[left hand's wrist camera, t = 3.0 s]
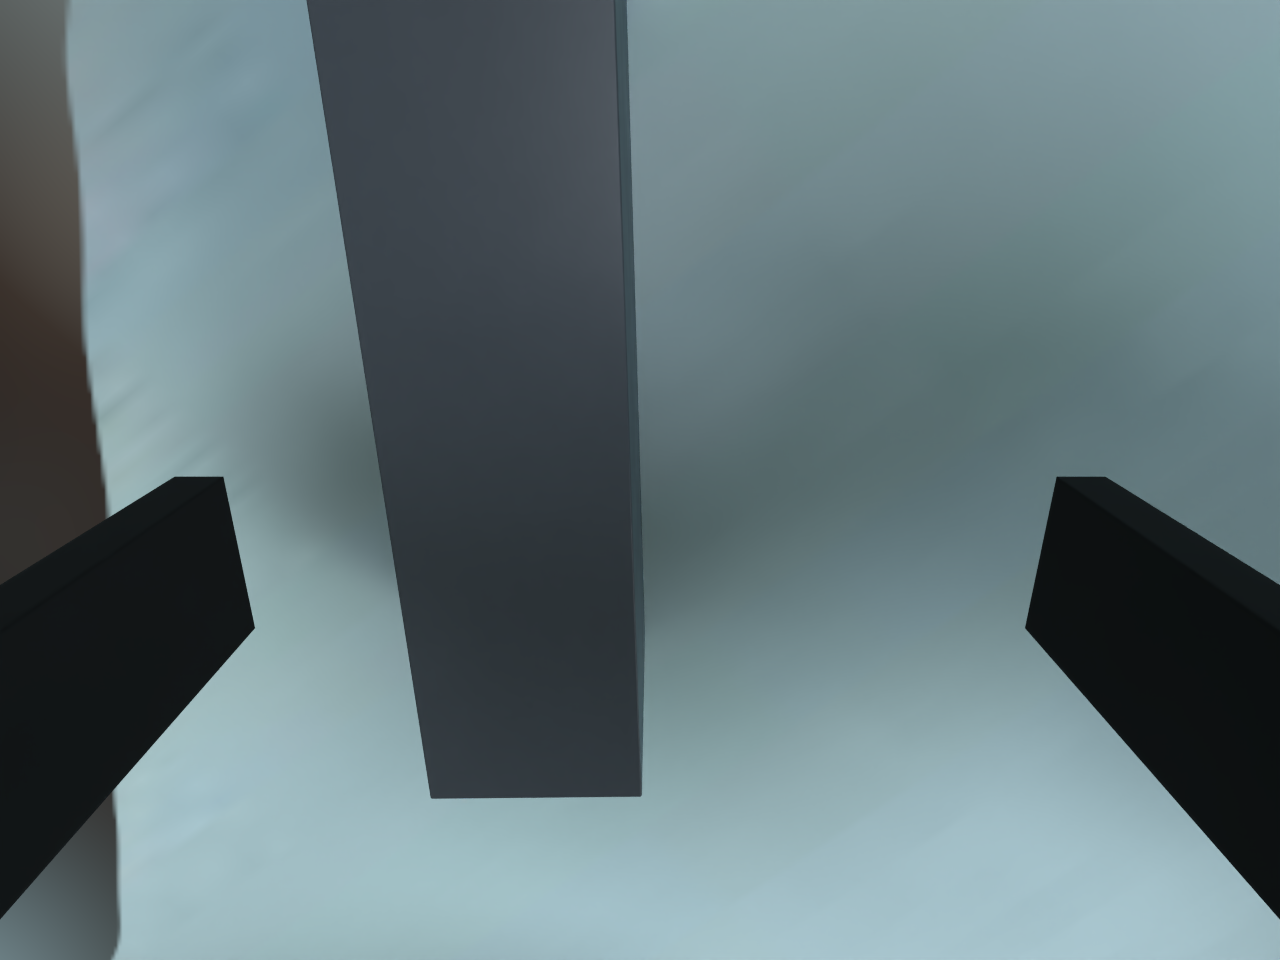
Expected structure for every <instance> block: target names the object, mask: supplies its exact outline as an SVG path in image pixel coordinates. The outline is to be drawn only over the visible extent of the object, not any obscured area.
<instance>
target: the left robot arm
mask: <svg viewBox="0 0 1280 960" xmlns="http://www.w3.org/2000/svg"><path fill="white" fill-rule="evenodd" d="M254 629H255V626H254V621H253V616H252V612H251V607H250V602H249V597H248V593H247V588H246V583H245V578H244V573H243V569H242V564H241V559H240V554H239V550H238V545H237V540H236V535H235V530H234V526H233V521H232V516H231V511H230V506H229V502H228V497H227V492H226V487H225V483H224V478H223V477H173V478H172V479H170V480H169V481H167V482H165V483H164V484H162V485H161V486H159V487H157V488H156V489H154V490H153V491H151V492H149V493H148V494H146V495H144V496H143V497H141V498H140V499H138V500H136V501H135V502H133V503H132V504H130V505H128V506H127V507H125V508H124V509H122V510H120V511H119V512H117V513H115V514H114V515H112V516H111V517H109V518H107V519H106V520H104V521H103V522H101V523H99V524H98V525H96V526H95V527H93V528H91V529H90V530H88V531H86V532H85V533H83V534H82V535H80V536H78V537H77V538H75V539H74V540H72V541H70V542H69V543H67V544H66V545H64V546H62V547H61V548H59V549H57V550H56V551H54V552H53V553H51V554H50V555H48V556H46V557H45V558H43V559H41V560H40V561H38V562H37V563H35V564H33V565H32V566H30V567H28V568H27V569H25V570H24V571H22V572H20V573H19V574H17V575H16V576H14V577H12V578H11V579H9V580H8V581H6V582H4V583H3V584H1V585H0V919H1V918H2V917H3V915H4V914H5V913H6V912H7V911H8V910H9V909H10V907H11V906H12V905H13V904H14V903H15V902H16V901H17V899H18V898H19V897H20V896H21V895H22V894H23V893H24V891H25V890H26V889H27V888H28V887H29V886H30V885H31V883H32V882H33V881H34V880H35V879H36V878H37V877H38V875H39V874H40V873H41V872H42V871H43V870H44V869H45V867H46V866H47V865H48V864H49V863H50V862H51V861H52V859H53V858H54V857H55V856H56V855H57V854H58V853H59V851H60V850H61V849H62V848H63V847H64V846H65V845H66V843H67V842H68V841H69V840H70V839H71V838H72V837H73V835H74V834H75V833H76V832H77V831H78V830H79V829H80V827H81V826H82V825H83V824H84V823H85V822H86V821H87V819H88V818H89V817H90V816H91V815H92V814H93V813H94V811H95V810H96V809H97V808H98V807H99V806H100V805H101V803H102V802H103V801H104V800H105V799H106V798H107V797H108V795H109V794H110V793H111V792H112V791H113V790H114V789H115V787H116V786H117V785H118V784H119V783H120V782H121V781H122V779H123V778H124V777H125V776H126V775H127V774H128V773H129V771H130V770H131V769H132V768H133V767H134V766H135V765H136V763H137V762H138V761H139V760H140V759H141V758H142V757H143V755H144V754H145V753H146V752H147V751H148V750H149V749H150V747H151V746H152V745H153V744H154V743H155V742H156V741H157V739H158V738H159V737H160V736H161V735H162V734H163V733H164V731H165V730H166V729H167V728H168V727H169V726H170V725H171V723H172V722H173V721H174V720H175V719H176V718H177V717H178V715H179V714H180V713H181V712H182V711H183V710H184V709H185V707H186V706H187V705H188V704H189V703H190V702H191V701H192V699H193V698H194V697H195V696H196V695H197V694H198V693H199V691H200V690H201V689H202V688H203V687H204V686H205V685H206V683H207V682H208V681H209V680H210V679H211V678H212V677H213V675H214V674H215V673H216V672H217V671H218V670H219V669H220V667H221V666H222V665H223V664H224V663H225V662H226V661H227V659H228V658H229V657H230V656H231V655H232V654H233V653H234V651H235V650H236V649H237V648H238V647H239V646H240V645H241V643H242V642H243V641H244V640H245V639H246V638H247V637H248V635H249V634H250V633H251V632H252V631H253V630H254ZM1025 629H1026V630H1027V631H1028V632H1029V633H1030V634H1031V635H1032V637H1033V638H1034V639H1035V640H1036V641H1037V642H1038V643H1039V645H1040V646H1041V647H1042V648H1043V649H1044V650H1045V651H1046V653H1047V654H1048V655H1049V656H1050V657H1051V658H1052V659H1053V661H1054V662H1055V663H1056V664H1057V665H1058V666H1059V667H1060V669H1061V670H1062V671H1063V672H1064V673H1065V674H1066V675H1067V677H1068V678H1069V679H1070V680H1071V681H1072V682H1073V683H1074V685H1075V686H1076V687H1077V688H1078V689H1079V690H1080V691H1081V693H1082V694H1083V695H1084V696H1085V697H1086V698H1087V699H1088V701H1089V702H1090V703H1091V704H1092V705H1093V706H1094V707H1095V709H1096V710H1097V711H1098V712H1099V713H1100V714H1101V715H1102V717H1103V718H1104V719H1105V720H1106V721H1107V722H1108V723H1109V725H1110V726H1111V727H1112V728H1113V729H1114V730H1115V731H1116V733H1117V734H1118V735H1119V736H1120V737H1121V738H1122V739H1123V741H1124V742H1125V743H1126V744H1127V745H1128V746H1129V747H1130V749H1131V750H1132V751H1133V752H1134V753H1135V754H1136V755H1137V757H1138V758H1139V759H1140V760H1141V761H1142V762H1143V763H1144V765H1145V766H1146V767H1147V768H1148V769H1149V770H1150V771H1151V773H1152V774H1153V775H1154V776H1155V777H1156V778H1157V779H1158V781H1159V782H1160V783H1161V784H1162V785H1163V786H1164V787H1165V789H1166V790H1167V791H1168V792H1169V793H1170V794H1171V795H1172V797H1173V798H1174V799H1175V800H1176V801H1177V802H1178V803H1179V805H1180V806H1181V807H1182V808H1183V809H1184V810H1185V811H1186V813H1187V814H1188V815H1189V816H1190V817H1191V818H1192V819H1193V821H1194V822H1195V823H1196V824H1197V825H1198V826H1199V827H1200V829H1201V830H1202V831H1203V832H1204V833H1205V834H1206V835H1207V837H1208V838H1209V839H1210V840H1211V841H1212V842H1213V843H1214V845H1215V846H1216V847H1217V848H1218V849H1219V850H1220V851H1221V853H1222V854H1223V855H1224V856H1225V857H1226V858H1227V859H1228V861H1229V862H1230V863H1231V864H1232V865H1233V866H1234V867H1235V869H1236V870H1237V871H1238V872H1239V873H1240V874H1241V875H1242V877H1243V878H1244V879H1245V880H1246V881H1247V882H1248V883H1249V885H1250V886H1251V887H1252V888H1253V889H1254V890H1255V891H1256V893H1257V894H1258V895H1259V896H1260V897H1261V898H1262V899H1263V901H1264V902H1265V903H1266V904H1267V905H1268V906H1269V907H1270V909H1271V910H1272V911H1273V912H1274V913H1275V914H1276V915H1277V917H1278V918H1279V919H1280V585H1279V584H1277V583H1276V582H1274V581H1272V580H1271V579H1269V578H1268V577H1266V576H1264V575H1263V574H1261V573H1260V572H1258V571H1256V570H1255V569H1253V568H1252V567H1250V566H1248V565H1247V564H1245V563H1243V562H1242V561H1240V560H1239V559H1237V558H1235V557H1234V556H1232V555H1231V554H1229V553H1227V552H1226V551H1224V550H1223V549H1221V548H1219V547H1218V546H1216V545H1214V544H1213V543H1211V542H1210V541H1208V540H1206V539H1205V538H1203V537H1202V536H1200V535H1198V534H1197V533H1195V532H1194V531H1192V530H1190V529H1189V528H1187V527H1185V526H1184V525H1182V524H1181V523H1179V522H1177V521H1176V520H1174V519H1173V518H1171V517H1169V516H1168V515H1166V514H1165V513H1163V512H1161V511H1160V510H1158V509H1156V508H1155V507H1153V506H1152V505H1150V504H1148V503H1147V502H1145V501H1144V500H1142V499H1140V498H1139V497H1137V496H1136V495H1134V494H1132V493H1131V492H1129V491H1127V490H1126V489H1124V488H1123V487H1121V486H1119V485H1118V484H1116V483H1115V482H1113V481H1111V480H1110V479H1108V478H1107V477H1057V478H1056V483H1055V487H1054V492H1053V497H1052V502H1051V506H1050V511H1049V516H1048V521H1047V526H1046V530H1045V535H1044V540H1043V545H1042V549H1041V554H1040V559H1039V564H1038V569H1037V573H1036V578H1035V583H1034V588H1033V593H1032V597H1031V602H1030V607H1029V612H1028V616H1027V621H1026V626H1025Z"/></svg>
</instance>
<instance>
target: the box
mask: <svg viewBox="0 0 1280 960" xmlns="http://www.w3.org/2000/svg"><path fill="white" fill-rule="evenodd" d="M307 6H308V12H309V19H310V25H311V32H312V38H313V44H314V51H315V57H316V64H317V70H318V77H319V83H320V89H321V96H322V102H323V109H324V115H325V122H326V128H327V134H328V141H329V147H330V154H331V160H332V166H333V173H334V179H335V186H336V192H337V199H338V205H339V211H340V218H341V224H342V231H343V237H344V244H345V250H346V256H347V263H348V269H349V276H350V282H351V289H352V295H353V301H354V308H355V314H356V321H357V327H358V333H359V340H360V346H361V353H362V359H363V366H364V372H365V378H366V385H367V391H368V398H369V404H370V411H371V417H372V423H373V430H374V436H375V443H376V449H377V455H378V462H379V468H380V475H381V481H382V488H383V494H384V500H385V507H386V513H387V520H388V526H389V533H390V539H391V545H392V552H393V558H394V565H395V571H396V577H397V584H398V590H399V597H400V603H401V610H402V616H403V622H404V629H405V635H406V642H407V648H408V655H409V661H410V667H411V674H412V680H413V687H414V693H415V700H416V706H417V712H418V719H419V725H420V732H421V738H422V744H423V751H424V757H425V764H426V770H427V777H428V783H429V789H430V796H431V798H432V799H442V798H543V797H640V796H641V795H642V756H643V701H644V647H645V625H644V590H643V556H642V521H641V487H640V452H639V418H638V383H637V348H636V314H635V279H634V245H633V210H632V176H631V141H630V106H629V72H628V37H627V3H626V0H307Z"/></svg>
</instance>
